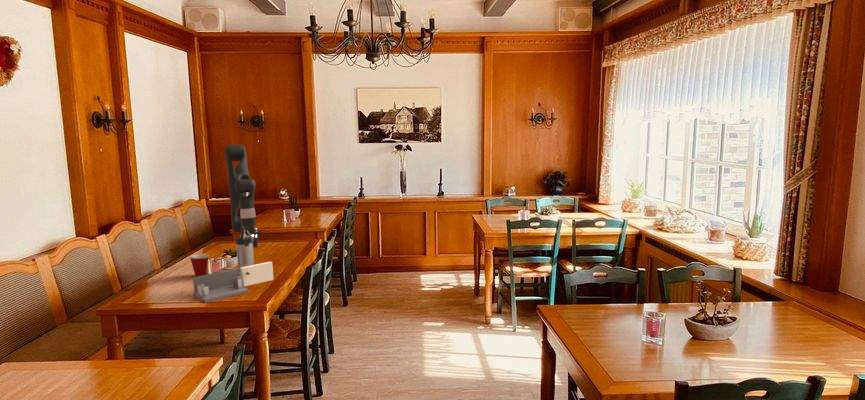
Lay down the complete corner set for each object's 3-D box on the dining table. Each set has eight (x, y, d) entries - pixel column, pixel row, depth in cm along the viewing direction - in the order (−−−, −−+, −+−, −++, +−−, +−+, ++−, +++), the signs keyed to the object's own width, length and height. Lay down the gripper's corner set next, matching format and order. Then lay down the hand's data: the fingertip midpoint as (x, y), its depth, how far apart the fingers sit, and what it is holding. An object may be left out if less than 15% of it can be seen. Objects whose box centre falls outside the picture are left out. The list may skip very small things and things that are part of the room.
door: (241, 285, 283) (240, 267, 282) (271, 278, 295) (269, 261, 293) (244, 286, 281) (243, 268, 279) (274, 280, 292) (273, 262, 290)
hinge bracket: (194, 295, 268) (192, 277, 266) (236, 286, 282) (235, 268, 281) (205, 302, 256) (203, 283, 254) (249, 292, 270) (247, 274, 269)
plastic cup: (214, 274, 306) (212, 254, 304) (195, 279, 298) (194, 258, 296) (206, 271, 313) (204, 252, 311) (188, 275, 305) (186, 255, 303)
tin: (246, 281, 290) (245, 266, 289) (243, 283, 287) (242, 268, 286) (220, 281, 292) (219, 266, 291) (217, 283, 289) (216, 268, 287)
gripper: (262, 216, 276) (264, 246, 277) (247, 215, 285) (250, 244, 286) (249, 218, 270) (252, 249, 271) (234, 217, 279) (237, 247, 281)
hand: (251, 246), depth 279 cm, fingers open, 8 cm apart
